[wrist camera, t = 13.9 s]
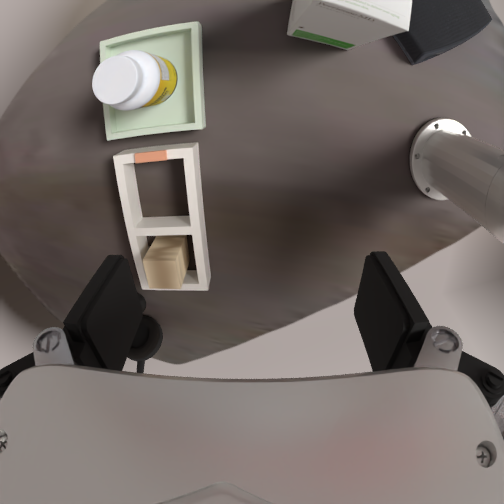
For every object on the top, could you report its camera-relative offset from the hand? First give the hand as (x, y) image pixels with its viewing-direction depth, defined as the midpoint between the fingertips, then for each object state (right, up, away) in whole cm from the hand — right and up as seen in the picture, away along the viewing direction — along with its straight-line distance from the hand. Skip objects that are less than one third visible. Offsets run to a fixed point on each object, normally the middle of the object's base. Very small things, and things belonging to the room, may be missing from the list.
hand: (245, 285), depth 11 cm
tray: (-12, +23, +20) cm, 32 cm away
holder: (-12, +6, +29) cm, 32 cm away
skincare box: (+9, +29, +16) cm, 34 cm away
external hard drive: (+25, +35, +12) cm, 45 cm away
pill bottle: (-12, +22, +19) cm, 32 cm away
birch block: (-11, +2, +32) cm, 34 cm away
